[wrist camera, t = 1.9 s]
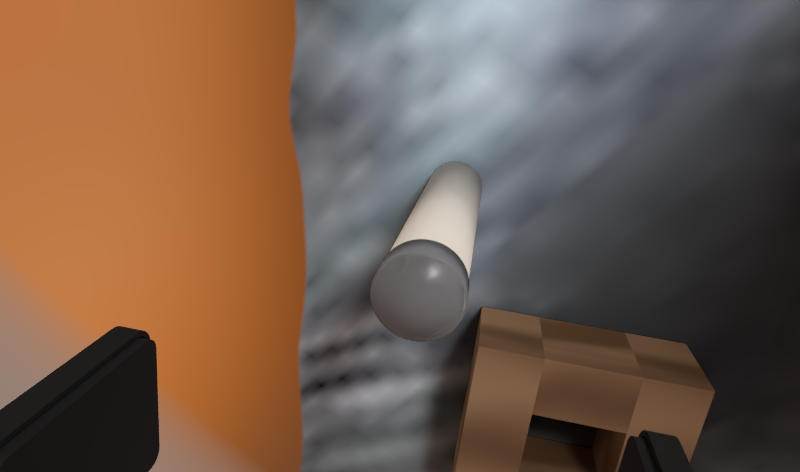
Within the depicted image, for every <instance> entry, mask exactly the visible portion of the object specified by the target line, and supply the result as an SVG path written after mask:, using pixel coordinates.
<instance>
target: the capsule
mask: <svg viewBox="0 0 800 472" xmlns="http://www.w3.org/2000/svg"><path fill="white" fill-rule="evenodd" d="M481 192H482V183H481V180H480V177H479V175H478V173H477V172H476V171H475V170H474V169H473V168H472V167H471V166H469V165H467V164H465V163H462V162H448V163H445V164H443V165H441V166H440V167H438V168H437V169H436V170H435V171H434V173H433V174H432V176H431V178H430V180H429V181H428V183H427V185H426V187H425V189H424V190H423V192H422V194H421V196H420V198H419V200H418V201H417V203H416V205H415V207H414V209H413V210H412V212H411V214H410V216H409V218H408V220H407V221H406V223H405V225H404V227H403V229H402V230H401V232H400V234H399V236H398V238H397V240H396V241H395V243H394V245H393V247H392V249H391V250H390V252H389V253H388V254H387V255H386V257H385V258H384V260H383V262H382V263H381V265H380V267H379V269H378V271H377V272H376V274H375V276H374V278H373V281H372V284H371V291H370V297H371V303H372V307H373V310H374V312H375V314H376V316H377V318H378V319H379V321H380V322H381V323H382V324H383V325H384V326H385V327H386V328H387V329H388V330H389V331H391V332H392V333H394V334H395V335H397V336H399V337H401V338H404V339H407V340H411V341H418V342H426V341H433V340H437V339H439V338H442V337H444V336H446V335H448V334H449V333H450V332H452V331H453V330H454V329H455V328H456V327H457V326H458V325H459V323H460V322H461V320H462V318H463V316H464V314H465V311H466V306H467V299H468V292H469V274H470V267H471V260H472V254H473V247H474V240H475V233H476V226H477V220H478V213H479V206H480V199H481Z"/></svg>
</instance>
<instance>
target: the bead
mask: <svg viewBox="0 0 800 472" xmlns="http://www.w3.org/2000/svg"><path fill="white" fill-rule="evenodd" d="M714 394H715V390H714V389H713V387H712V385H711V384H710V382H709V381H708V379H707V377H706V376H705V374H704V372H703V371H702V369H701V367H700V366H699V364H698V363H697V361H696V359H695V358H694V356H693V354H692V353H691V351H690V350H689V348H688V346H687V345H686V344H684V343H679V342H673V341H668V340H662V339H657V338H651V337H646V336H640V335H635V334H629V333H624V332H618V331H613V330H607V329H602V328H596V327H591V326H585V325H580V324H575V323H569V322H564V321H558V320H553V319H547V318H542V317H536V316H531V315H525V314H520V313H514V312H509V311H503V310H498V309H492V308H487V307H482V309H481V314H480V320H479V325H478V330H477V336H476V341H475V347H474V352H473V357H472V363H471V368H470V374H469V379H468V384H467V390H466V395H465V401H464V406H463V411H462V417H461V422H460V428H459V433H458V438H457V444H456V449H455V454H454V460H453V466H452V472H618V470H619V467H620V463H621V460H622V457H623V453H624V450H625V447H626V444H627V441H628V438H629V437H630V436H636V437H638V436H639V434H640V433H641V431H643V430H647V431H652V432H657V433H662V434H667V435H672V436H676V437H677V438H678V439H679V441H680V443H681V445H682V447H683V450H684V452H685V454H686V456H687V458H688V461H689V463H690V460H691V458H692V455H693V452H694V449H695V447H696V444H697V441H698V438H699V435H700V433H701V430H702V427H703V424H704V422H705V419H706V416H707V413H708V410H709V408H710V405H711V402H712V399H713V396H714ZM532 414H533V415H537V416H542V417H547V418H552V419H557V420H562V421H567V422H572V423H577V424H582V425H587V426H592V427H596V428H598V429H597V432H596V436H595V439H594V443H593V446H592V449H590V448H586V447H581V446H576V445H571V444H566V443H562V442H557V441H552V440H547V439H542V438H538V437H533V436H528V435H527V434H528V429H529V425H530V421H531V417H532Z"/></svg>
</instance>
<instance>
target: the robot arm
mask: <svg viewBox="0 0 800 472" xmlns="http://www.w3.org/2000/svg"><path fill="white" fill-rule="evenodd" d="M157 392H158V391H157V359H156V344H155V342H154V341H153V340H150V337H149V335H148V333H147V332H145V331H142V330H136V329H131V328H126V327H121V326H118V327H115V328H113V329H111V330H110V331H109V332H107V333H106V334H105V335H103V336H102V337H101V338H99V339H98V340H96V341H95V342H94V343H92V344H91V345H90V346H88V347H87V348H85V349H84V350H82V351H81V352H80V353H78V354H77V355H76V356H74V357H73V358H71V359H70V360H69V361H67V362H66V363H65V364H63V365H62V366H60V367H59V368H58V369H56V370H55V371H53V372H52V373H51V374H49V375H48V376H47V377H45V378H44V379H42V380H41V381H40V382H38V383H37V384H36V385H34V386H33V387H31V388H30V389H29V390H27V391H26V392H24V393H23V394H22V395H20V396H19V397H18V398H16V399H15V400H13V401H12V402H11V403H9V404H8V405H7V406H5V407H4V408H2V409H1V410H0V472H148V471H149V470H150V469H151V468H152V466H153V465H154V463H155V461H156V459H157V456H158V452H159V420H158V393H157ZM618 472H693V470H692V467H691V465H690V463H689V461H688V458H687V456H686V454H685V452H684V450H683V447H682V445H681V443H680V441H679V439H678V438H677V437H676V436H672V435H667V434H662V433H657V432H652V431H647V430H643V431H641V433H640V434H639V436H638V437H636V436H630V437H629V438H628V441H627V444H626V447H625V450H624V453H623V457H622V460H621V463H620V467H619V470H618Z"/></svg>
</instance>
